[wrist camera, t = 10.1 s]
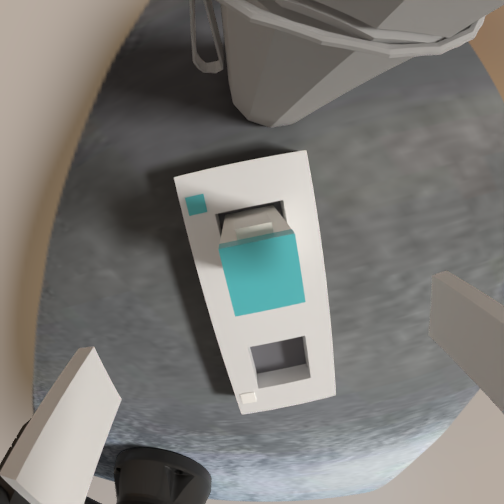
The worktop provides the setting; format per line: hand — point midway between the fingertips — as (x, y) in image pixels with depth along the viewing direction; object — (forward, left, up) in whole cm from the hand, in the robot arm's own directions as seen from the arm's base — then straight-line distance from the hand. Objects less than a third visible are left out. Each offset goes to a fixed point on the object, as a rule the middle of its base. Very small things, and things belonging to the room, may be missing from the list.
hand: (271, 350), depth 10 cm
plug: (0, 0, -16) cm, 16 cm away
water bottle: (+3, +12, -17) cm, 21 cm away
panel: (0, -6, -17) cm, 18 cm away
